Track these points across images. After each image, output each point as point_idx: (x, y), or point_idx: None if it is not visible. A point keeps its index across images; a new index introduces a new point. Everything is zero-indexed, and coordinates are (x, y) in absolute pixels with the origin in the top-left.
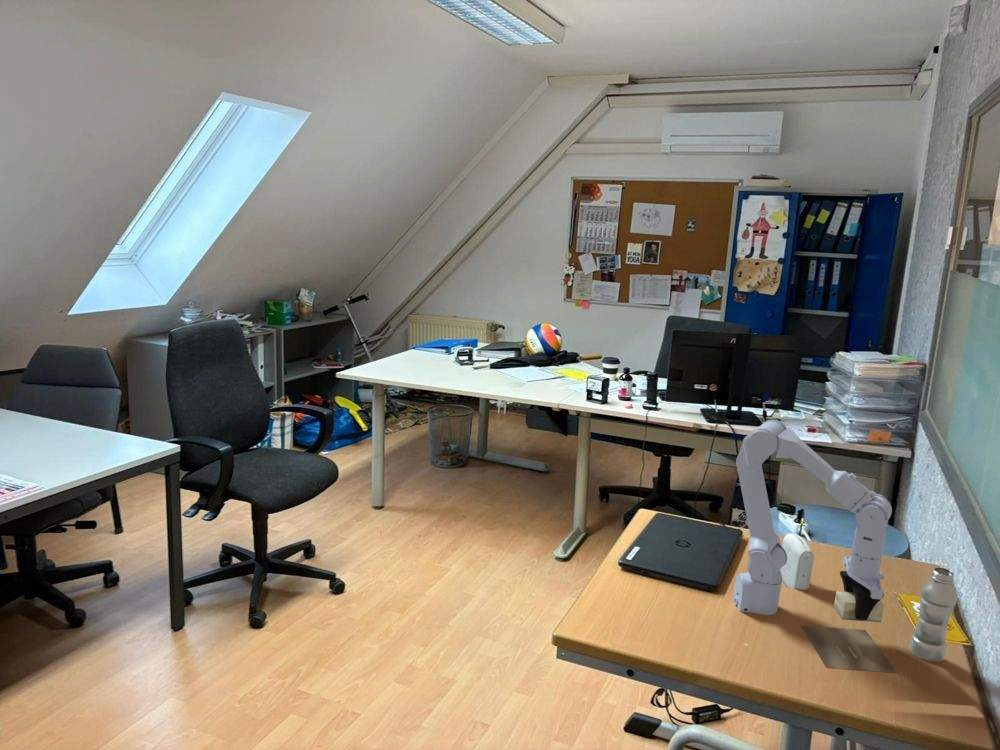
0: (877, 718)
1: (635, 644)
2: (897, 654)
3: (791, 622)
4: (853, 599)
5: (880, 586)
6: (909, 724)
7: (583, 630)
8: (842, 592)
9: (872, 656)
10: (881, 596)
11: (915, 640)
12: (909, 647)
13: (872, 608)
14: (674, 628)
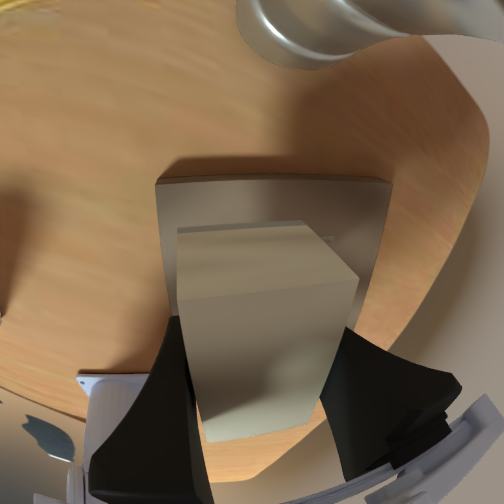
0: (441, 267)
1: (262, 462)
2: (264, 102)
3: (141, 357)
4: (284, 408)
5: (488, 449)
6: (460, 223)
7: (242, 477)
8: (216, 432)
9: (325, 224)
10: (490, 407)
11: (325, 59)
12: (266, 58)
13: (363, 340)
14: (222, 454)
